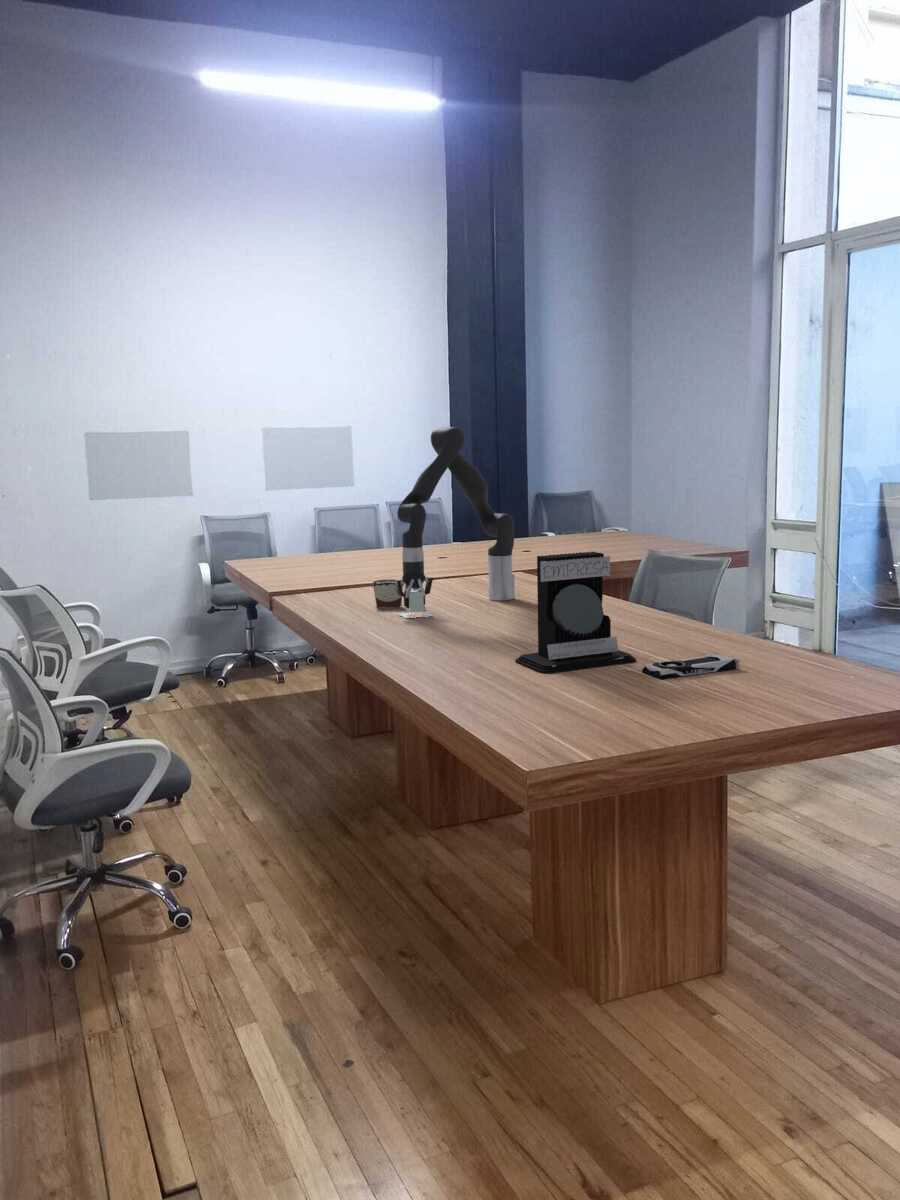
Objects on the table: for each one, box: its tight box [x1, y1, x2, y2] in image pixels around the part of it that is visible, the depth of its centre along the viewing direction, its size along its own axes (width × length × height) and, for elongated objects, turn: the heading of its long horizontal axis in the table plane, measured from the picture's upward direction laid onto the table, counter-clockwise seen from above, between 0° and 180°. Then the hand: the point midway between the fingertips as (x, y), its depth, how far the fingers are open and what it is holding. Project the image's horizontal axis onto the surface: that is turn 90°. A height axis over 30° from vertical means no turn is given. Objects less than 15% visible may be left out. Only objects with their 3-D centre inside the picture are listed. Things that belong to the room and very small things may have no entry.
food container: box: [371, 578, 405, 608], centre depth 383 cm, size 12×6×10 cm, turn 84°
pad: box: [397, 611, 434, 619], centre depth 362 cm, size 10×10×1 cm
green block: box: [405, 589, 425, 613], centre depth 362 cm, size 5×5×7 cm
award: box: [514, 551, 637, 674], centre depth 282 cm, size 30×19×30 cm, turn 114°
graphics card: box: [641, 652, 740, 681], centre depth 270 cm, size 10×3×25 cm
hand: (414, 606), depth 362 cm, fingers closed on green block, 5 cm apart
